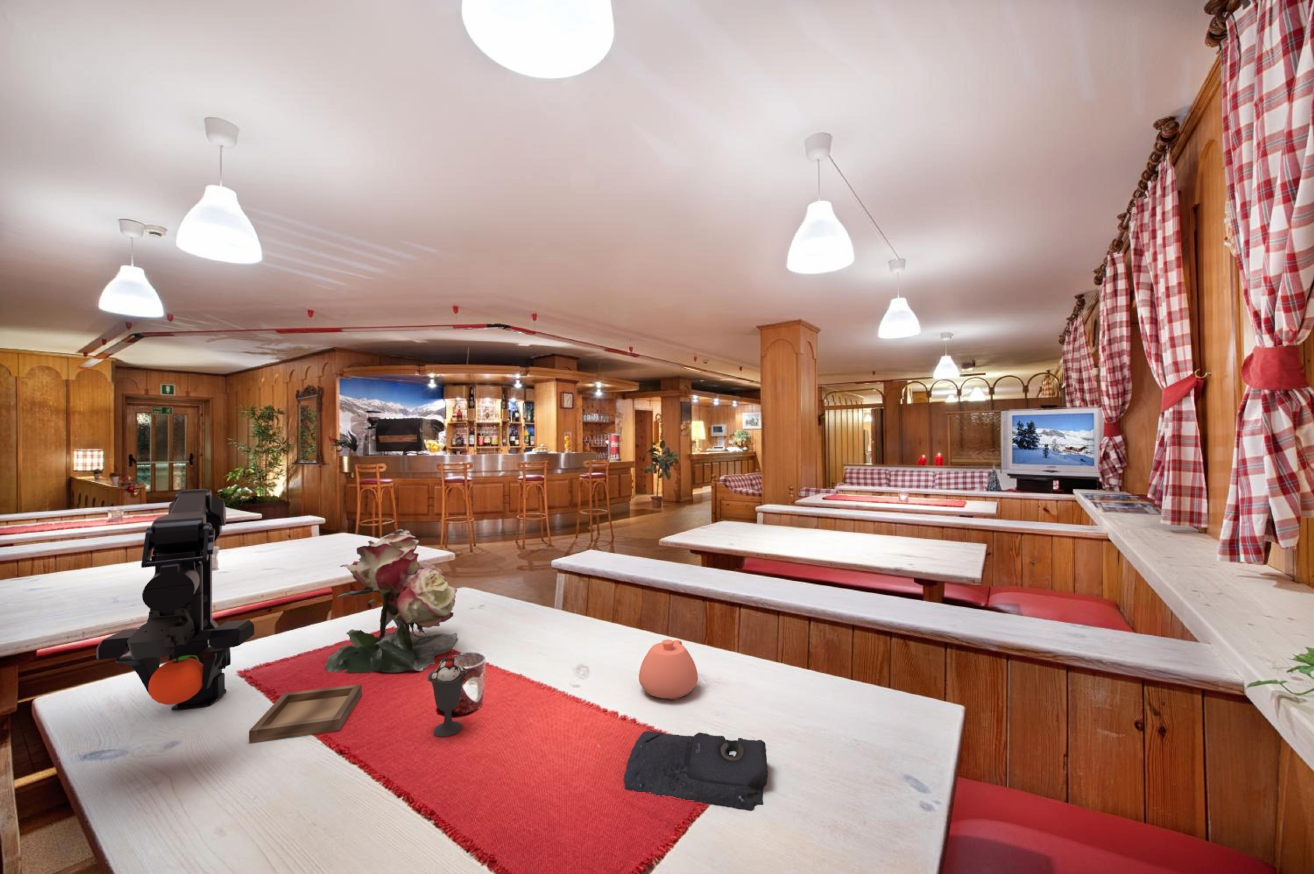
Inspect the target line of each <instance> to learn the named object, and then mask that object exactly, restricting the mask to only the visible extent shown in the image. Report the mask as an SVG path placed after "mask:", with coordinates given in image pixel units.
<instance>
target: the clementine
mask: <svg viewBox="0 0 1314 874" xmlns="http://www.w3.org/2000/svg"><path fill="white" fill-rule="evenodd" d="M190 656H193V657H195V658H196V659H197V660H196V659H193V658H188V657H190ZM202 686H203V664H202V663H201V662H199V658H198V657H197V656H195V655H188V656H182V657H179V658H177V659H173V660H170V661H169V660H168V661H166V662H165V663H163V664H162V665H160V667H159V668H158V669H157V670H156V671H155V673H154V674H153V675H152V677H151V679H150V681H149V686H148V690H149V693H148V696H150V697H151V699H152V700H153V701H154V702H156V703H158V704H162V705H165V706H166V705H168V706H170V705H175V704H178V703H181V702H184V701H186V700H188V699H190V698H191V697H192V696H194V695H195V694H196V693H197V692H198V691H199V690H200V689H201V688H202Z"/></svg>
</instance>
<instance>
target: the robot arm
mask: <svg viewBox="0 0 1314 874" xmlns="http://www.w3.org/2000/svg"><path fill="white" fill-rule="evenodd" d="M174 498H175V499H174V500H172V501H171V502H170V503H169V504H168V512H167V514H166V515H162V516H159V517H157V518H156V519H154V520H153V522H152V524H151V526H150V527H147V528H146V529H145V535H144V543H143V550H142V558H141V564H140V567H141V569H143V568H144V569H146V568H152V567H153V568H154V575H153V576H152V577H151V579H150V580H149V581H148V582H147V584H145V586H144V588H143V590H142V593H141V594H142V596H141V597H142V601H143V604H144V605H145V606H146V607H148V608H149V612H148V618H147V621H146V623H144V624H142V625H141V626H140V627H139V628H131V629H129V628H128V629H123V630H120V631H117V632H116V633H114V634H111V635H110V636H108V637H106V638H104V639H102V640H101V641H100V642H99V644H98V646H97V647H96V659H97V660H99V661H100V660H110V659H115V660H114V662H116V663H117V664H119V663H120V664H125V665H127V666H129V667H131V668H132V669H133V670H134V671H135V673H136V674H137V676H138V677H139V680H140V682H141V683H142V684H143V686H144V688H145V690H146V692H147V693H148V694H149V690H148V686H149V681H150V679H151V677H152V675H153V674H154V673H155V671H156V670H157V669H158V668H159V667H161V658H165V657H168V661H170V660H173V659H177V658H179V657H182V656H188V655H195V656H197V657H198V658H199V662H201V663H202V664H203V686H202V688H201V689H200V690H199V691H198V692H197V693H196V694H195V695H194V696H192V697H191V698H190V699H188V700H186V701H184V702H181V703H178V704H173V705H172V706H171V711H177V710H185V709H186V710H187V709H194V708H202V707H208V706H211V705H212V704H214V703H215V702H216V701H217V700H219V698H221V697H222V696H223V695H224V694H225V693H226V692H227V688H226V686H225V685H226V682H225V681H226V680H225V679H226V675H225V672H223V670H225V669H226V667H228V666H230V665H231V663H232V662H231V660H232V659H231V658H232V656H231V648H236V647H239V646H241V645H242V644H243V643H245V642H246V641H248V640H249V639H250V638H251V637H253V636H254V635H255V625H254V623H253V622H252V621H251V619H240V620H239V619H238V620H226V621H225V622H223V623H221V624H220V625H219V624H218V623H217V622H216V621H215V619H213V555H214V547H215V546H214V545H215V544H216V542H217V540H218V539H219V537H220V536H221V534H222V532H223V527H224V526H226V524H227V523H226V522H227V510H226V509H227V508H226V503H225V501H224V500H223V499H220V498H219V497H216V496H214V495H213V493H212V490H211V489H209V490H208V489H207V488H201V489H198V488H197V489H181V490H180V491H176V492H175V497H174ZM188 658H193V659H196V658H195V657H193V656H190V657H188ZM196 660H197V659H196Z"/></svg>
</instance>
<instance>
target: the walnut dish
mask: <svg viewBox="0 0 1314 874" xmlns="http://www.w3.org/2000/svg"><path fill="white" fill-rule="evenodd" d="M362 685H363V684H361V683H360V684H351V685H343V686H335V687H334V686H333V687H326V688H318V689H309V690H301V691H299V690H298V691H292V692H283V693H282V695H280V696H279V698H278V699H277V700H276V701H275V702H274V703H273V704H272V705H271V707H270V708H269V709H268V710H267V711H266V712H264V714H263V715H262V716H261V717H260V718H259V719H258V720H257V722H256V723H254V725H253V726H252V727H251V728H250V729H249V730H248V743H249V744H252V743H260V742H266V741H274V740H280V739H281V740H282V739H288V738H296V737H297V738H298V737H302V736H310V735H317V734H318V735H319V734H325V733H326V734H327V733H333V732H339V731H340V730H341V729H342V728H343V726H344V724H345V722H346V721H347V719H348V717H349V716H350V715H351V713H352V711H353V709H354V708H355V706H356V705H357V703H358V701H359V700H360V698H361V696H362V695H363V693H362V691H363V690H362V689H363V686H362Z"/></svg>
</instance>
